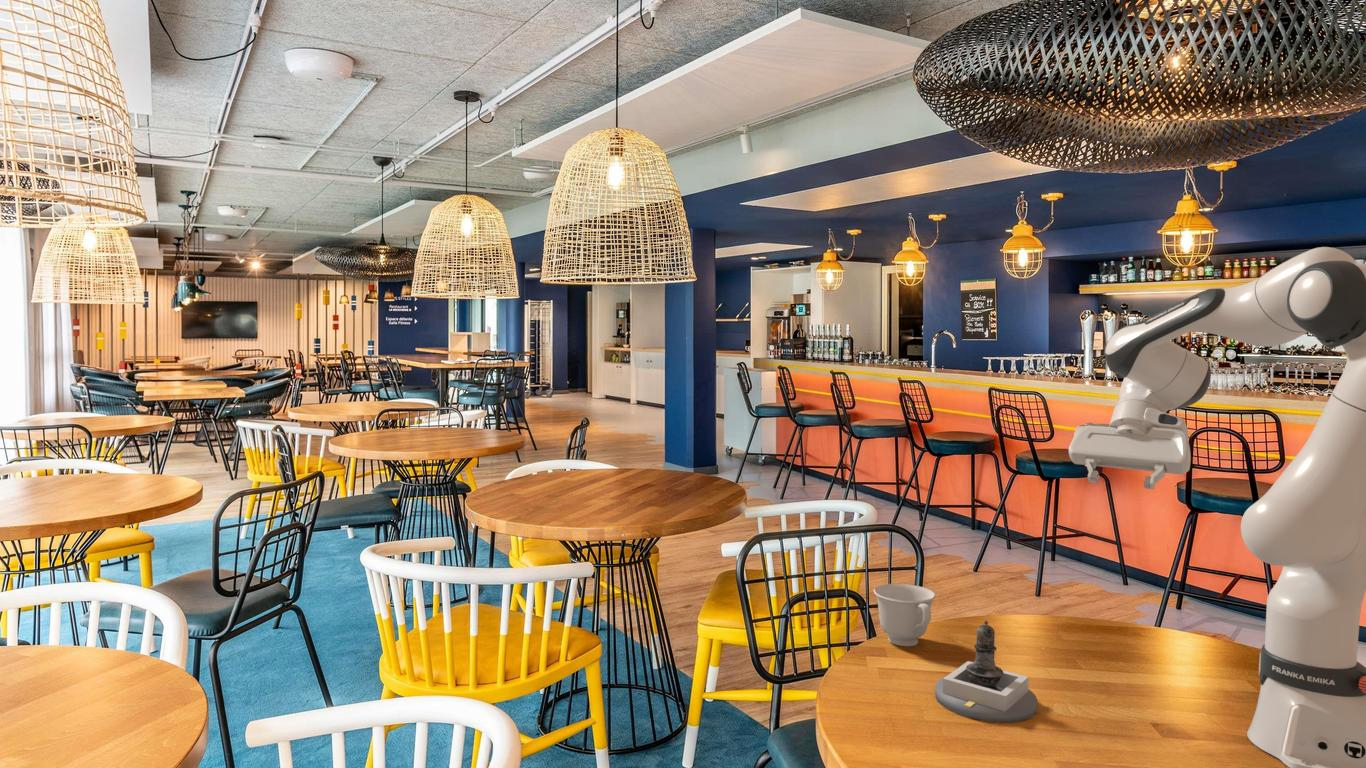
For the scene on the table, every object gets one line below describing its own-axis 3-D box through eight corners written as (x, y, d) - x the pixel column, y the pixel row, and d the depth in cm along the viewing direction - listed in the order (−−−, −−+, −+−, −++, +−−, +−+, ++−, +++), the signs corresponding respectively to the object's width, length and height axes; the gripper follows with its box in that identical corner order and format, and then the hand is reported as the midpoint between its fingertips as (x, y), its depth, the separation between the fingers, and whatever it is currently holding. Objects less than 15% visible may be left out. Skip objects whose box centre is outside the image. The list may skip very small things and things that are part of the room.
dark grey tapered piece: (997, 684, 146) (999, 615, 145) (1006, 698, 140) (1009, 626, 139) (962, 682, 147) (964, 613, 146) (969, 696, 141) (971, 625, 140)
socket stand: (1050, 699, 143) (1051, 676, 143) (1016, 732, 131) (1017, 707, 131) (958, 674, 154) (959, 652, 154) (919, 702, 142) (919, 678, 142)
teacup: (898, 660, 160) (900, 608, 160) (861, 633, 175) (862, 585, 174) (955, 654, 163) (956, 603, 163) (914, 628, 178) (915, 581, 177)
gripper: (1074, 412, 168) (1057, 466, 161) (1194, 419, 154) (1180, 479, 147) (1080, 432, 171) (1063, 487, 164) (1198, 442, 158) (1184, 501, 151)
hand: (1119, 483), depth 156 cm, fingers open, 8 cm apart
